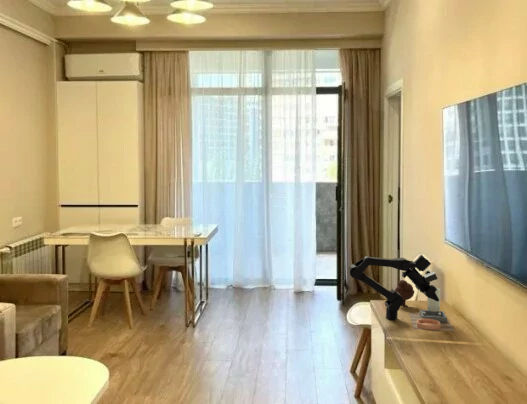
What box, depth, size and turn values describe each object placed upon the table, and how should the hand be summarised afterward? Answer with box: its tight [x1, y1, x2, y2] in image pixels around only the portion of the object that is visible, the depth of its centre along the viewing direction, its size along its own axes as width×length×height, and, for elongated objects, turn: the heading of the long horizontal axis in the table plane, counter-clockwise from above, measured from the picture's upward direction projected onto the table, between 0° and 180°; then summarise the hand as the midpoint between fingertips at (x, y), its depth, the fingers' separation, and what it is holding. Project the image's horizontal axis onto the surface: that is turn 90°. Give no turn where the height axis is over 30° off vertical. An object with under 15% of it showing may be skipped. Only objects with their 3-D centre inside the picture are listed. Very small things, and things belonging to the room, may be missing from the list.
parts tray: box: [419, 309, 448, 323], centre depth 304 cm, size 12×12×3 cm
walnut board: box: [408, 312, 456, 333], centre depth 298 cm, size 29×19×1 cm, turn 171°
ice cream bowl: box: [394, 279, 415, 308], centre depth 328 cm, size 11×11×15 cm
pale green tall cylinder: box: [426, 287, 442, 312], centre depth 303 cm, size 6×6×12 cm
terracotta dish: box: [416, 319, 441, 331], centre depth 291 cm, size 11×11×2 cm
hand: (436, 299), depth 303 cm, fingers closed on pale green tall cylinder, 6 cm apart
